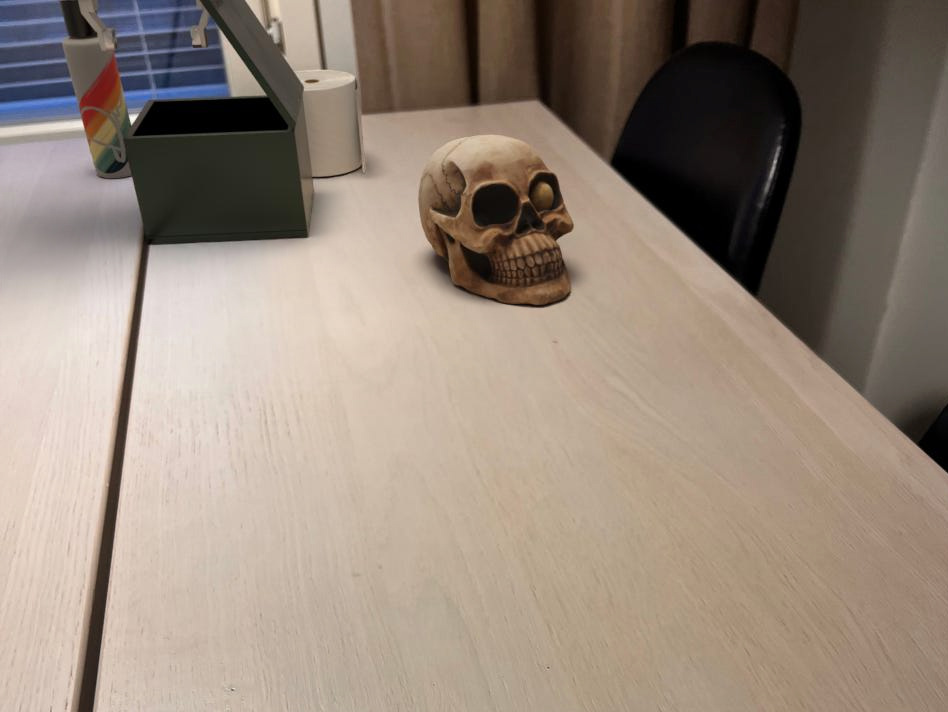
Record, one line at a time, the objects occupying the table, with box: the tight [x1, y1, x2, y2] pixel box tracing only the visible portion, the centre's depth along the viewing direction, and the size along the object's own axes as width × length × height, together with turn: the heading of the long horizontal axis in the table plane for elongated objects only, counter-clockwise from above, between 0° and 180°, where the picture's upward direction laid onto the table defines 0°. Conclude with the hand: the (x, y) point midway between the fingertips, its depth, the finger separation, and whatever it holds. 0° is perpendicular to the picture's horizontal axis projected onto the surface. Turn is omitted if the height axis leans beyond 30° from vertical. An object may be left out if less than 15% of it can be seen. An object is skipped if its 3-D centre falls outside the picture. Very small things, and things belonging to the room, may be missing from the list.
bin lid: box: [200, 0, 304, 128], centre depth 102 cm, size 18×16×5 cm
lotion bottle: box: [58, 0, 132, 179], centre depth 121 cm, size 6×6×20 cm
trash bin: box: [123, 94, 315, 245], centre depth 111 cm, size 18×16×11 cm
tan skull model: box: [417, 134, 575, 306], centre depth 98 cm, size 16×17×13 cm
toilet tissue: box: [294, 69, 366, 178], centre depth 125 cm, size 11×12×10 cm
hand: (155, 48), depth 103 cm, fingers open, 8 cm apart
